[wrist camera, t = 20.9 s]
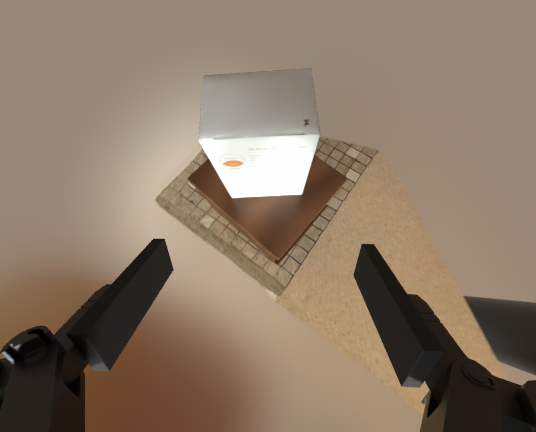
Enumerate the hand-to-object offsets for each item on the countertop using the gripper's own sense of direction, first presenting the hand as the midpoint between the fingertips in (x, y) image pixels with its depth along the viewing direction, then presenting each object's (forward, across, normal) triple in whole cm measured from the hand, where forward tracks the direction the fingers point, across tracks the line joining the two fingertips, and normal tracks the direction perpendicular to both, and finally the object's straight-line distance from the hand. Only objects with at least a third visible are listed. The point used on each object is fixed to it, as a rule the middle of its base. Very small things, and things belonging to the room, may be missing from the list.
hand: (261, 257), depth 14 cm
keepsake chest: (+19, 0, +6) cm, 20 cm away
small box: (+12, 0, -2) cm, 12 cm away
